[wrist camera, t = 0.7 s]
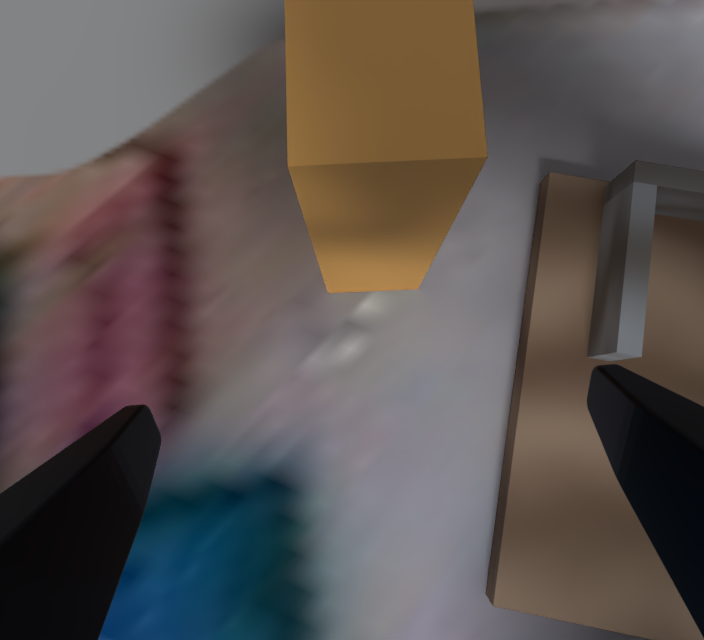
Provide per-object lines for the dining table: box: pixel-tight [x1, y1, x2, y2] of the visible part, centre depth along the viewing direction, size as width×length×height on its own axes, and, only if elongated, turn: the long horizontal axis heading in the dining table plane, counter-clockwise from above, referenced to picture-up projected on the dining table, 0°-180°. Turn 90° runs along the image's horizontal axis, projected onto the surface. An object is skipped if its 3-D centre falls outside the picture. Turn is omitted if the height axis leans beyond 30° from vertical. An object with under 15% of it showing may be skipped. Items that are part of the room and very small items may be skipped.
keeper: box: [486, 161, 704, 640], centre depth 20 cm, size 20×15×4 cm
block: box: [285, 0, 488, 293], centre depth 17 cm, size 4×4×13 cm
